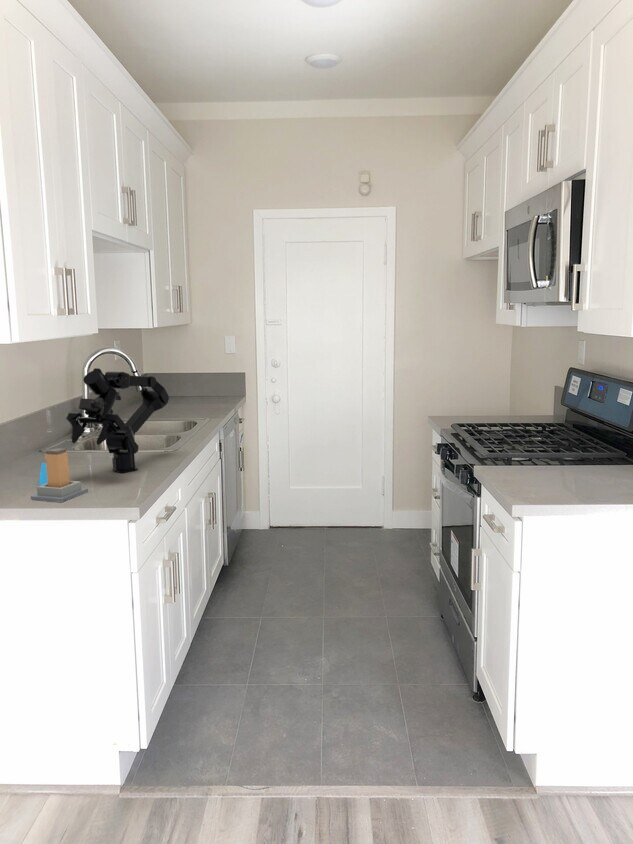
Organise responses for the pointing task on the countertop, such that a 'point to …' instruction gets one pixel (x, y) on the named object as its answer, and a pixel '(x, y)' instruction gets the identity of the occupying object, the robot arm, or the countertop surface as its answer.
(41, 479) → the blue block
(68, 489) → the jig cradle
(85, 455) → the countertop surface
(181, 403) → the countertop surface
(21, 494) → the countertop surface
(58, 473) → the block
